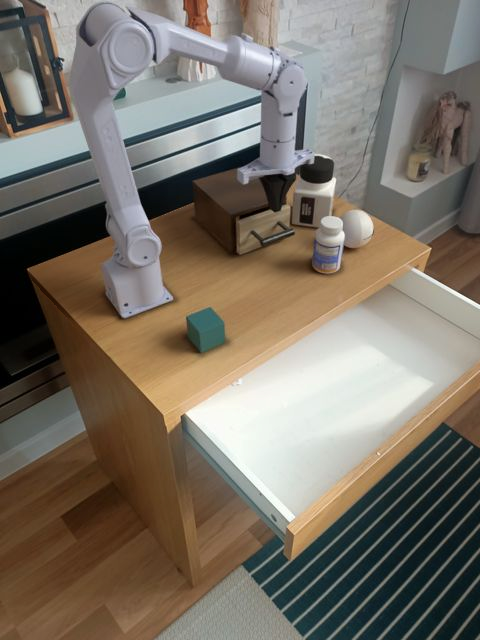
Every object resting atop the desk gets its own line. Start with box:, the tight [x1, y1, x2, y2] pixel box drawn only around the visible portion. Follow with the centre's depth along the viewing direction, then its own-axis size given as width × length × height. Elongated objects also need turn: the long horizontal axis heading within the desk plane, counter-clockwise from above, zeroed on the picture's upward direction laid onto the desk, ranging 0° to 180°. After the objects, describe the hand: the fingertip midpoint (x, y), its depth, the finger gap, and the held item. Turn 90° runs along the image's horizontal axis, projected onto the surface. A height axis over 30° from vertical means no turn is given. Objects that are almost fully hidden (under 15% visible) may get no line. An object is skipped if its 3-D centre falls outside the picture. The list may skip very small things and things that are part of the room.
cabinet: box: [192, 165, 288, 254], centre depth 111 cm, size 15×13×9 cm
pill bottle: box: [311, 215, 345, 275], centre depth 102 cm, size 5×5×10 cm
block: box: [185, 306, 226, 354], centre depth 89 cm, size 4×4×4 cm
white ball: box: [339, 209, 375, 249], centre depth 108 cm, size 10×7×7 cm
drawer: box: [234, 203, 296, 255], centre depth 108 cm, size 18×11×7 cm, turn 33°
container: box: [291, 153, 337, 229], centre depth 112 cm, size 8×8×13 cm
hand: (274, 209), depth 99 cm, fingers closed
